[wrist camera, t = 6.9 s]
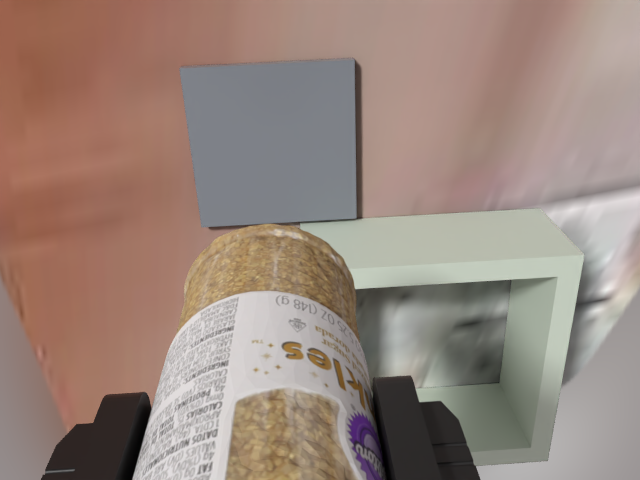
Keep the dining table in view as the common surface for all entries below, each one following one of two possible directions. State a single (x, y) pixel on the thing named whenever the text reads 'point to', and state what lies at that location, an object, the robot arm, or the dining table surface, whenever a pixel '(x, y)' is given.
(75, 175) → the dining table surface
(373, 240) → the crate
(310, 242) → the sprinkles bottle
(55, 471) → the robot arm
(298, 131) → the coaster
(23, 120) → the dining table surface
